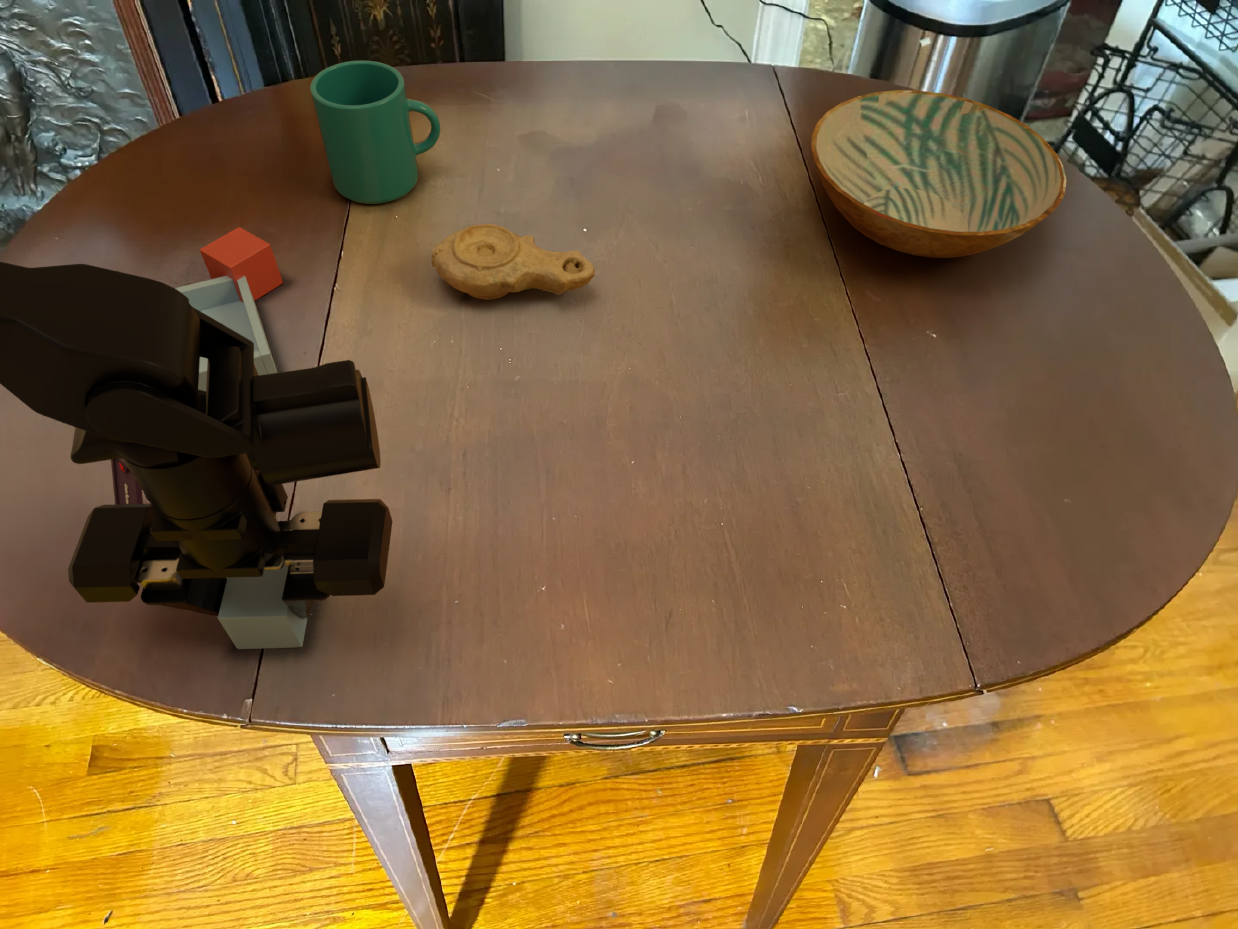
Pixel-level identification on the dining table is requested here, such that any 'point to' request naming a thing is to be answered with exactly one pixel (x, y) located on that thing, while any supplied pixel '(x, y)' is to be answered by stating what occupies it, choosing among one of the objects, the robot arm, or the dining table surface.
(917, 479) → the dining table surface
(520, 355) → the dining table surface
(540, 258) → the oil lamp
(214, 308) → the gray tray
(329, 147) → the cup
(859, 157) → the bowl
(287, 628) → the gray block
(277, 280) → the red block
